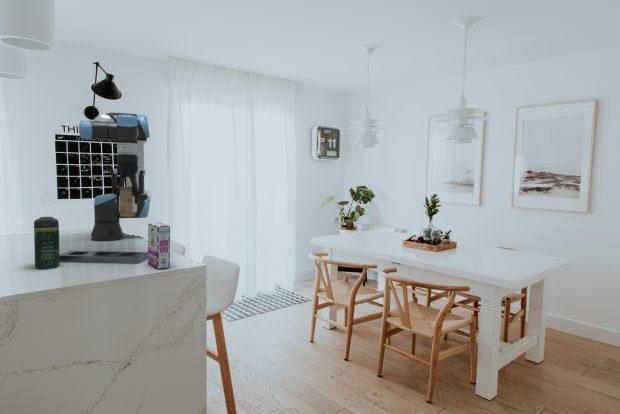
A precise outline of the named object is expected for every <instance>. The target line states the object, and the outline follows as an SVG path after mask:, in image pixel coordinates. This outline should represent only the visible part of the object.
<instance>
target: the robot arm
mask: <svg viewBox="0 0 620 414" xmlns="http://www.w3.org/2000/svg"><path fill="white" fill-rule="evenodd" d="M78 135H79V137H80V138H81V139H82V140H89V141H90V140H93V141H94V140H96V141H97V140H98V141H100V140H101V141H117V142H116V144H117V145H116V147H117V148H116V149H117V150H116V152H117V155H116V156H117V157H116V158H117V166H116V167H115V168H113V169H109V173H110V176H111V179H110V180H111V193H106V194H100V195H97V196H95V197H94V199H93V208H94V211H93V213H94V214H93V215H94V224H93V228H92V231H91V234H90V240H91V241H96V242H97V241H98V242H99V241H101V242H105V241H109V242H111V241H118V240H123V239H124V232H123V229H122V227H121V224H120V222H121V221H120V219H145V218H147V217H149V211H150V202H151V196H149V195H148V191H146V190H145V176H146V175H145V174H146V170H145V148H144V147H145V143H147V142H148V139H149V138H150V137H151V134H150V129H149V122H148V117H147V116H146V115H145V114H141V113H127V112H126V113H125V112H107V113H103V114H99V115H97V116H96V117H94V119H93V120H80V121H79V124H78ZM118 174H119V181H118ZM125 182H126V186H132V188H133V192H134V196H132V212H136V216H132V217H125V216H120V187H121V186H125Z"/></svg>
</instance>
